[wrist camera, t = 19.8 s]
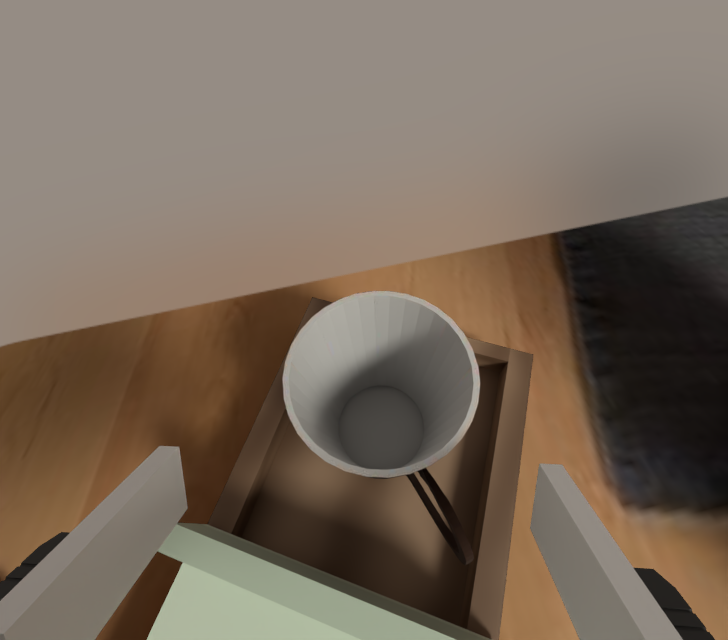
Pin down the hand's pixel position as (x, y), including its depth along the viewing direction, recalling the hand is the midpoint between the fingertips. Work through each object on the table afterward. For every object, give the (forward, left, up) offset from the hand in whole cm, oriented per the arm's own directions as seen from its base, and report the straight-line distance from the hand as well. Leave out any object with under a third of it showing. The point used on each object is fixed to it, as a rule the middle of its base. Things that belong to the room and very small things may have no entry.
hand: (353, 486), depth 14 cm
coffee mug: (0, -3, -11) cm, 11 cm away
